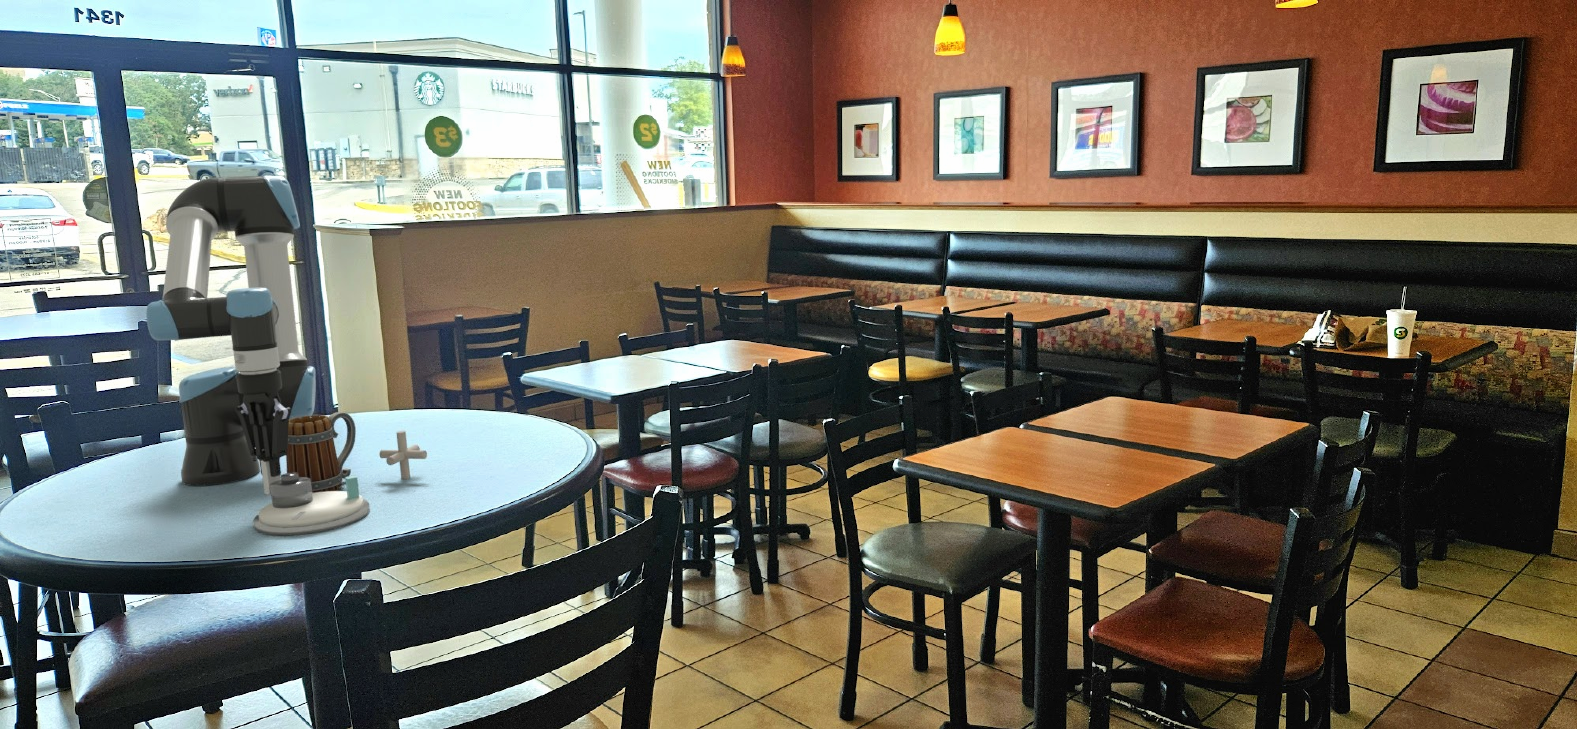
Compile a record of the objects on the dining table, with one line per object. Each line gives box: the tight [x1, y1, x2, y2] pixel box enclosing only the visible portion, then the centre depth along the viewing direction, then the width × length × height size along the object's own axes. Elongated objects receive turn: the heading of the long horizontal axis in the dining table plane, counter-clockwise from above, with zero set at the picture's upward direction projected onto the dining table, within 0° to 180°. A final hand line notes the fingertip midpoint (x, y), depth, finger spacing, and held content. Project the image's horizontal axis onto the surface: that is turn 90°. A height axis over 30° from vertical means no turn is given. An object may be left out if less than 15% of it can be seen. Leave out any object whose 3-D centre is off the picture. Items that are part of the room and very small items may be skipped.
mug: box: [285, 411, 357, 493], centre depth 222 cm, size 16×11×15 cm
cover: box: [270, 472, 313, 508], centre depth 204 cm, size 7×7×6 cm
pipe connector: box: [378, 430, 428, 480], centre depth 227 cm, size 10×10×10 cm
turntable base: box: [252, 498, 371, 537], centre depth 202 cm, size 20×20×1 cm
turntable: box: [257, 475, 364, 527], centre depth 202 cm, size 18×18×5 cm
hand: (273, 492), depth 206 cm, fingers closed
